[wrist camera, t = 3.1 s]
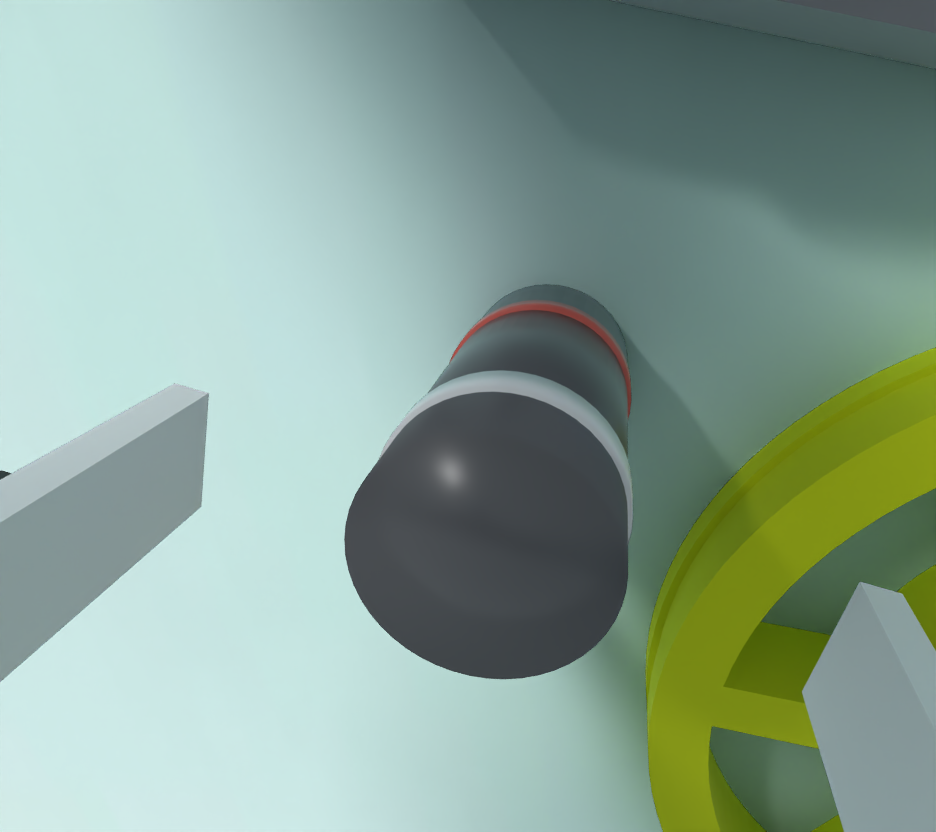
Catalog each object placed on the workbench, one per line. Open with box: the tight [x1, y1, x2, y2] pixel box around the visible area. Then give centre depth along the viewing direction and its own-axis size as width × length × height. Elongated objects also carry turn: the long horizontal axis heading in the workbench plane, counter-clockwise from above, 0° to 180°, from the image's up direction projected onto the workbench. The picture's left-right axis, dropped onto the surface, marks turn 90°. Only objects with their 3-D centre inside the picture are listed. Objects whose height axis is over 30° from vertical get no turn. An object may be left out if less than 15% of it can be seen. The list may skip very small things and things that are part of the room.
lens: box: [344, 284, 633, 679], centre depth 19 cm, size 5×5×12 cm
